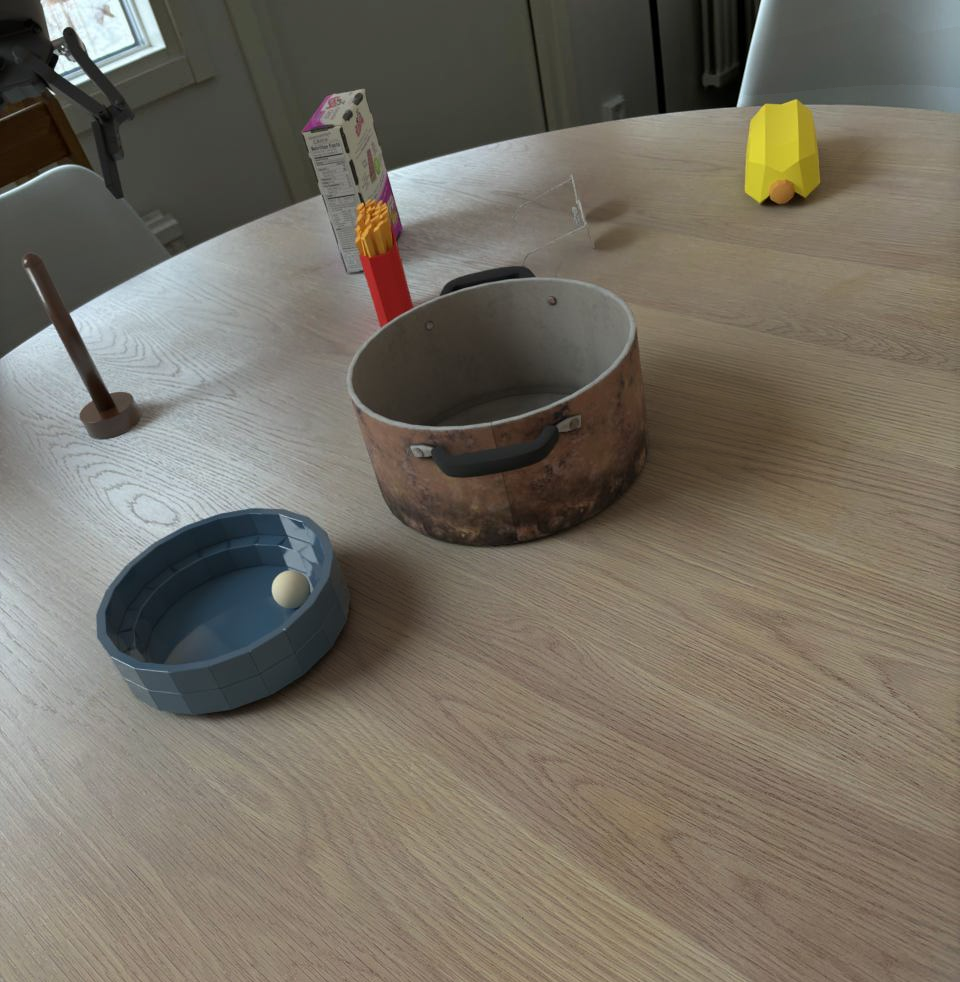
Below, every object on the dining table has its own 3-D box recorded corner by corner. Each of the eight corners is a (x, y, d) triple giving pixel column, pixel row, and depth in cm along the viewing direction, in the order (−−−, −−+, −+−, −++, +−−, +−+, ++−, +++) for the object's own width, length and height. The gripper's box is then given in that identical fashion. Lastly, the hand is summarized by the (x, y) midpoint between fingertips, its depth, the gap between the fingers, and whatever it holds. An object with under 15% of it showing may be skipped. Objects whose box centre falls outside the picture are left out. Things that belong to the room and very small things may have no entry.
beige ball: (282, 621, 77) (269, 592, 75) (276, 599, 79) (263, 570, 77) (318, 608, 77) (306, 579, 75) (311, 586, 79) (299, 557, 77)
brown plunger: (88, 445, 104) (-4, 274, 92) (87, 420, 108) (-1, 252, 96) (142, 427, 105) (57, 254, 93) (139, 402, 109) (58, 233, 97)
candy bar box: (365, 235, 130) (325, 94, 119) (404, 229, 128) (367, 86, 117) (343, 276, 122) (298, 129, 111) (384, 271, 120) (342, 121, 109)
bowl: (132, 756, 71) (99, 706, 67) (121, 605, 84) (93, 557, 80) (375, 666, 72) (355, 613, 69) (328, 531, 85) (308, 481, 82)
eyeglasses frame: (597, 258, 111) (584, 213, 108) (523, 286, 113) (507, 244, 110) (583, 209, 122) (570, 167, 118) (515, 235, 123) (500, 195, 120)
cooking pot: (676, 553, 74) (663, 424, 67) (372, 604, 77) (329, 485, 70) (627, 350, 96) (613, 236, 89) (392, 395, 99) (360, 289, 92)
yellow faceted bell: (744, 218, 111) (820, 208, 109) (742, 153, 107) (821, 142, 105) (747, 153, 124) (815, 144, 122) (745, 93, 119) (816, 82, 117)
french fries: (378, 309, 113) (346, 199, 105) (413, 300, 113) (384, 189, 105) (382, 345, 107) (349, 230, 99) (420, 335, 107) (389, 220, 99)
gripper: (137, -4, 106) (183, 195, 105) (-96, 60, 107) (-52, 257, 106) (107, -56, 99) (157, 158, 98) (-143, 13, 100) (-97, 225, 99)
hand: (48, 210), depth 102 cm, fingers open, 13 cm apart
